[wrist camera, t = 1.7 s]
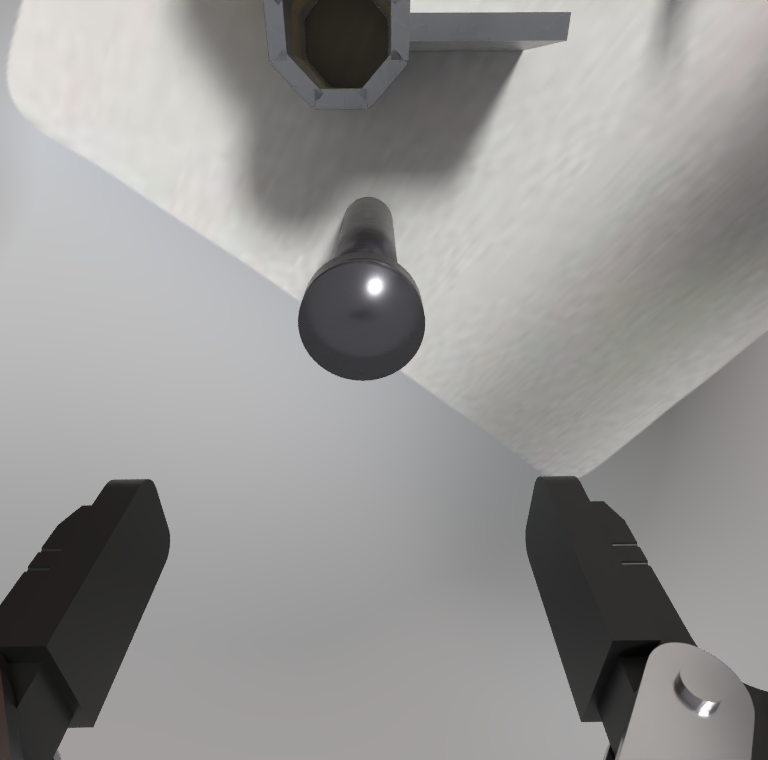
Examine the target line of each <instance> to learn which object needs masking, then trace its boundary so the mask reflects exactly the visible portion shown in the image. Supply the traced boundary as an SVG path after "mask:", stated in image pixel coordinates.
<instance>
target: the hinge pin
mask: <svg viewBox="0 0 768 760" xmlns="http://www.w3.org/2000/svg"><path fill="white" fill-rule="evenodd" d="M298 324H299V325H298V326H299V332H300V337H301V339H302V342H303V344H304V347H305V349H306V350H307V351H308V353H309V355H310V356H311V357H312V358H313V359H314V360H315V361H316V362H317V363H318V364H319V365H320V366H321V367H323V368H324V369H325V370H327V371H329V372H331V373H332V374H335V375H337V376H340V377H343V378H346V379H352V380H362V381H364V380H374V379H379V378H383V377H386V376H388V375H391V374H393V373H395V372H396V371H398V370H400V369H401V368H402V367H404V366H405V365H406V364H407V363H408V362H409V361H410V360H411V359H412V358H413V357H414V355H415V354H416V352H417V351H418V349H419V347H420V345H421V342H422V340H423V336H424V331H425V316H424V310H423V305H422V300H421V296H420V293H419V289H418V287H417V285H416V283H415V281H414V280H413V278H412V277H411V275H410V274H409V273H408V272H407V271H406V270H405V269H404V268H403V267H402V266H401V265H400V264H398V263H397V257H396V248H395V239H394V230H393V221H392V215H391V212H390V210H389V209H388V207H387V206H386V205H385V204H384V203H383V202H382V201H380V200H378V199H376V198H372V197H364V198H360V199H358V200H356V201H354V202H353V203H352V204H351V205H350V206H349V207H348V209H347V211H346V213H345V217H344V221H343V225H342V229H341V233H340V237H339V241H338V246H337V250H336V254H335V258H334V259H332V260H330V261H329V262H327V263H326V264H324V265H323V266H322V267H321V268H320V269H319V270H318V271H317V272H316V273H315V274H314V276H313V277H312V279H311V280H310V282H309V284H308V286H307V289H306V291H305V294H304V297H303V300H302V303H301V306H300V310H299V317H298Z"/></svg>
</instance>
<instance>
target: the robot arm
mask: <svg viewBox="0 0 768 760" xmlns="http://www.w3.org/2000/svg"><path fill="white" fill-rule="evenodd" d="M169 547H170V533H169V529H168V525H167V522H166V519H165V515H164V512H163V509H162V506H161V503H160V499H159V496H158V493H157V490H156V487H155V484H154V483H153V481H151V480H149V479H136V480H135V479H132V480H111V481H109V482H108V483H107V484H106V485H105V487H104V488H103V490H102V491H101V493H100V494H99V495H98V497H97V499H96V500H95V501H94V503H93V504H92V506H81V507H80V508H79V509H78V510H76V511H75V512H74V513H72V514H71V515H70V516H69V517H68V518H66V519H65V520H64V521H63V522H61V523H60V524H59V525H58V526H57V527H56V529H55V530H54V531H53V533H52V534H51V535H50V537H49V538H48V540H47V541H46V543H45V544H44V545H43V547H42V551H41V552H39V553H38V554H37V555H36V556H35V558H34V559H33V561H32V562H31V563H30V565H29V566H28V571H27V572H24V573H23V574H22V576H21V577H20V578H19V580H18V581H17V583H16V584H15V586H14V587H13V588H12V589H11V591H10V592H9V594H8V595H7V596H6V598H5V599H4V601H3V602H2V603H1V605H0V760H61V757H60V754H59V751H58V750H57V749H58V747H59V745H60V743H61V740H62V738H63V736H64V734H65V732H66V730H67V728H76V727H93V726H94V724H95V722H96V720H97V717H98V715H99V713H100V711H101V708H102V706H103V704H104V701H105V699H106V697H107V695H108V692H109V690H110V688H111V685H112V683H113V681H114V679H115V676H116V674H117V672H118V670H119V667H120V665H121V663H122V661H123V658H124V656H125V654H126V652H127V649H128V647H129V644H130V642H131V640H132V638H133V636H134V633H135V631H136V629H137V626H138V624H139V622H140V620H141V617H142V615H143V613H144V610H145V608H146V606H147V604H148V602H149V599H150V597H151V595H152V592H153V590H154V588H155V585H156V583H157V581H158V579H159V577H160V574H161V572H162V570H163V567H164V565H165V563H166V560H167V557H168V553H169ZM526 547H527V548H526V549H527V554H528V558H529V561H530V564H531V567H532V571H533V574H534V577H535V580H536V583H537V586H538V589H539V592H540V596H541V598H542V602H543V604H544V608H545V611H546V614H547V617H548V620H549V623H550V626H551V630H552V633H553V636H554V639H555V642H556V645H557V648H558V651H559V654H560V658H561V661H562V664H563V667H564V670H565V673H566V676H567V679H568V682H569V685H570V688H571V692H572V695H573V698H574V701H575V704H576V707H577V710H578V713H579V716H580V719H581V722H603V725H604V728H605V731H606V733H607V736H608V739H609V745H608V747H607V749H606V753H605V756H604V759H603V760H768V692H767V691H763V690H760V689H757V688H754V687H751V686H749V685H746V684H744V683H742V681H741V680H740V679H739V678H738V676H737V675H736V674H735V673H734V672H733V671H732V670H731V669H730V668H729V667H728V666H727V665H726V664H725V663H723V662H722V661H721V660H719V659H718V658H716V657H715V656H714V655H712V654H710V653H709V652H707V651H705V650H703V649H701V648H698V647H697V645H696V644H695V642H694V641H693V639H692V638H691V636H690V634H689V632H688V631H687V629H686V627H685V625H684V624H683V622H682V620H681V618H680V617H679V615H678V613H677V611H676V610H675V608H674V606H673V605H672V603H671V601H670V599H669V597H668V596H667V594H666V592H665V590H664V589H663V587H662V585H661V584H660V582H659V580H658V578H657V577H656V575H655V573H654V571H653V570H652V568H651V567H650V566H648V561H647V559H646V557H645V555H644V554H643V552H642V550H641V548H640V547H638V546H637V542H636V540H635V538H634V536H633V534H632V533H631V531H630V529H629V527H628V526H627V524H626V522H625V520H624V519H622V518H621V517H620V516H619V515H618V514H617V513H616V512H615V511H614V510H612V509H611V508H610V507H609V506H608V505H607V504H606V503H605V502H604V501H598V502H596V501H594V502H590V500H589V499H588V497H587V495H586V493H585V491H584V489H583V487H582V485H581V483H580V481H579V480H578V478H576V477H575V476H549V477H538V478H537V479H536V482H535V486H534V491H533V496H532V501H531V506H530V511H529V516H528V521H527V525H526Z"/></svg>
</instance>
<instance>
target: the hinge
mask: <svg viewBox="0 0 768 760" xmlns="http://www.w3.org/2000/svg"><path fill="white" fill-rule="evenodd" d="M318 1H319V0H263V4H264V14H265V24H266V34H267V43H268V53H269V61H273V63H272V64H271V65H272V66H273V67H274V68H275V69H276V70H277V71H278V72H279V73H280V74H281V76H282V77H283V78H284V79H285V80H286V81H287V82H288V83H289V84H290V85H291V86H292V87H293V88H294V89H295V90H296V91H297V92H298V93H299V94H300V95H301V97H302V98H303V99H304V100H305V101H306V102H307V103H308V104H309V105H310V106H311V107H312V108H313V107H315V109H367V108H368V106H369V107H371V106H372V105H373V104H374V102H375V101H376V100H377V99H378V98H379V97H380V95H381V94H382V93H383V92H384V91H385V90H386V88H387V87H388V86H389V85H390V84H391V83H392V82H393V80H394V79H395V78H396V77H397V76H398V75H399V73H400V72H401V71H402V70H403V69H404V68H405V66H406V65H407V63H406V62H407V61H408V60H409V51H482V50H527V49H532V48H536V47H540V46H545V45H549V44H553V43H558V42H562V41H567V35H568V28H569V22H570V15H571V12H517V13H410V0H372V1H373V2H374V3H375V4H376V5H377V7H378V8H379V9H380V10H381V12H382V13H383V14H384V15H385V16H386V18H387V19H388V58H387V59H386V60H385V61H384V63H383V64H382V65H381V66H380V67H379V68H378V70H377V71H376V72H375V73H374V74H373V76H372V77H371V78H370V79H369V80H368V82H367V83H366V84H365V85H364V86H363V88H332V87H331V86H330V85H329V84H328V83H327V82H326V81H325V80H324V79H323V77H322V76H321V75H320V74H319V73H318V72H317V71H316V70H315V69H314V68H313V67H312V65H311V64H310V63H309V62H308V61H307V51H306V36H305V22H304V20H305V18H306V17H307V15H308V14H309V13H310V11H311V10H312V9H313V7H314V6H315V5H316V3H317V2H318Z"/></svg>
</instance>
